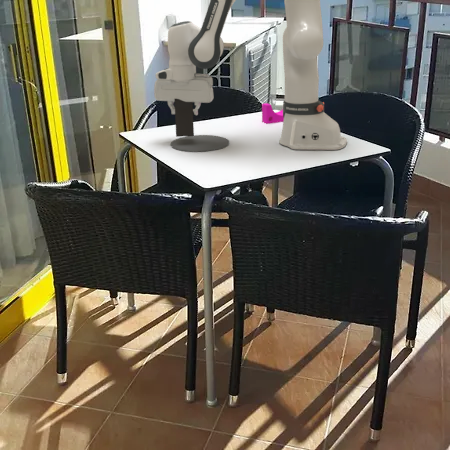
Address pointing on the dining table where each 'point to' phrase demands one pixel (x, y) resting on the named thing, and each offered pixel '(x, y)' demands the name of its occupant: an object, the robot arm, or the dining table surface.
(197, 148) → the mat
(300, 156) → the dining table surface
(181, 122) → the phone stand
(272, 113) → the toy block
